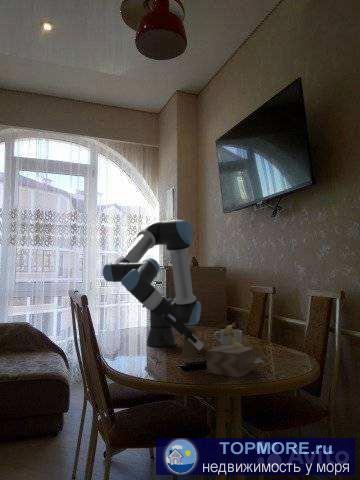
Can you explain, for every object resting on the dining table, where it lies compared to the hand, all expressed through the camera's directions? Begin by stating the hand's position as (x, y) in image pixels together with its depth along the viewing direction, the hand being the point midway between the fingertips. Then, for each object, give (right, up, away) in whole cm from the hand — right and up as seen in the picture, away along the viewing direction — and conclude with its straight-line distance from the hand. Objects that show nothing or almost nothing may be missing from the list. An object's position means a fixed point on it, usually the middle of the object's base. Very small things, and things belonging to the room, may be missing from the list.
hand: (198, 345), depth 138 cm
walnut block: (+12, -9, -2) cm, 15 cm away
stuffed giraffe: (+18, -11, +16) cm, 27 cm away
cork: (-4, -4, -1) cm, 5 cm away
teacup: (+17, -13, +44) cm, 49 cm away
